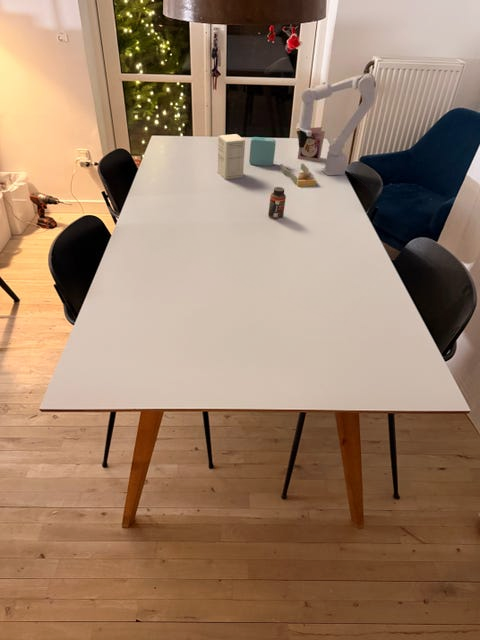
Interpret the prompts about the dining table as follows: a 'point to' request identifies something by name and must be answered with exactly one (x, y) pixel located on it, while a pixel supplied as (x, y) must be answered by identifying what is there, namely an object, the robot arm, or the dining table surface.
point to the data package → (262, 151)
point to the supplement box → (231, 156)
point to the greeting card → (312, 146)
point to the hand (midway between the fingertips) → (301, 147)
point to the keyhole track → (298, 182)
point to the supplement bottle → (277, 203)
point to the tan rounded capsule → (304, 176)
